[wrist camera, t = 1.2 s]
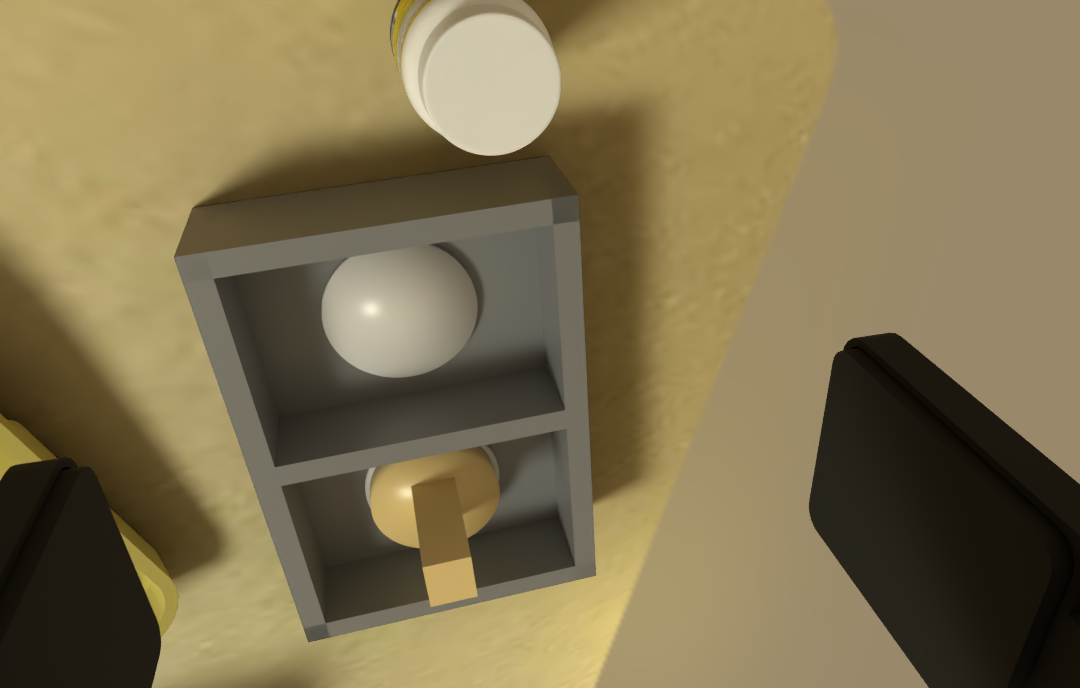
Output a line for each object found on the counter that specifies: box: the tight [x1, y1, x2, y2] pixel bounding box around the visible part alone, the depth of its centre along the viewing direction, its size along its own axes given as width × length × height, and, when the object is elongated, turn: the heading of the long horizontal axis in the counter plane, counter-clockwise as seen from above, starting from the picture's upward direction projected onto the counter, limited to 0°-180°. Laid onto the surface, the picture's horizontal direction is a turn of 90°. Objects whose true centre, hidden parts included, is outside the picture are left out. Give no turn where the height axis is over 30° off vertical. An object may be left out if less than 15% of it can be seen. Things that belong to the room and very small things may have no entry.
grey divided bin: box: [174, 156, 596, 642], centre depth 34 cm, size 20×14×8 cm
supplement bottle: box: [390, 0, 562, 156], centre depth 26 cm, size 5×5×8 cm
